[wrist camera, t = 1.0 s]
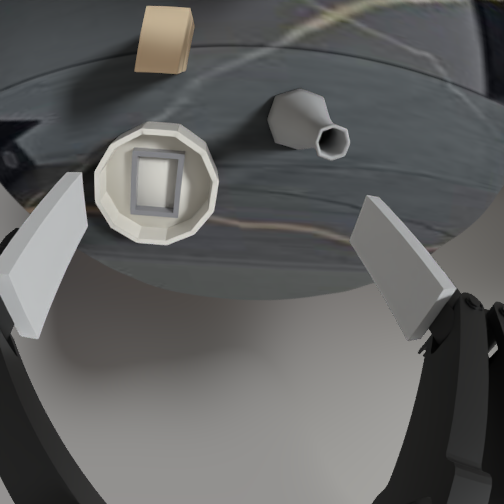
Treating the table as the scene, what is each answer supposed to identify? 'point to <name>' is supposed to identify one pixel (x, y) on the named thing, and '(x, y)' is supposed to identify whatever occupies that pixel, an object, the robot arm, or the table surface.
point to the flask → (306, 124)
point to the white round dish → (156, 183)
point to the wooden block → (165, 40)
